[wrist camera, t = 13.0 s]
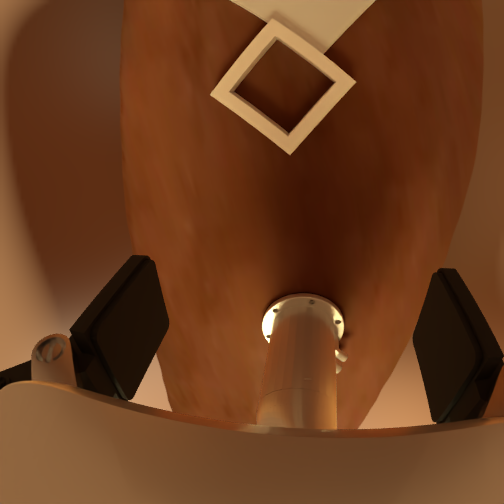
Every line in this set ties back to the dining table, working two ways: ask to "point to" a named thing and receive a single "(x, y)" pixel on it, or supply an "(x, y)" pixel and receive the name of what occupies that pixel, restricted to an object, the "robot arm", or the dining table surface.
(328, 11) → the felt mat
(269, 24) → the socket collar
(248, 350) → the dining table surface
